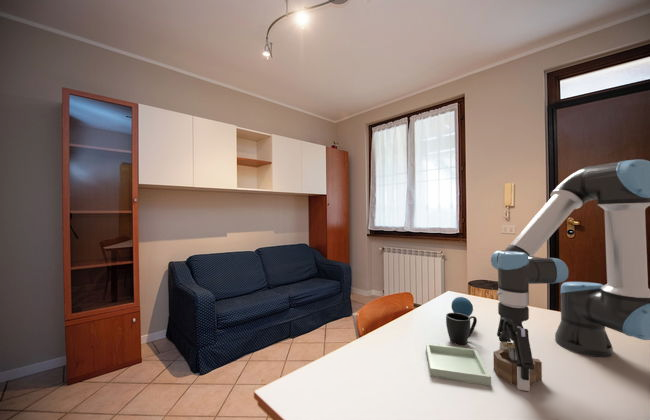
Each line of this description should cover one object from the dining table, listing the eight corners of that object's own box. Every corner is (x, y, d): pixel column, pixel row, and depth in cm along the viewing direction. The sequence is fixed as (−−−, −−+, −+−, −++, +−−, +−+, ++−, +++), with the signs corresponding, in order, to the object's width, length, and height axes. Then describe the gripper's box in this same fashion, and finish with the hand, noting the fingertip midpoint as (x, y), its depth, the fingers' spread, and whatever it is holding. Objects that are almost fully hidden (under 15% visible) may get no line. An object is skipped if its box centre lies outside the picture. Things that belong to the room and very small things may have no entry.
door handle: (519, 372, 83) (519, 341, 83) (526, 382, 78) (526, 348, 78) (501, 370, 84) (500, 339, 84) (506, 379, 80) (506, 346, 80)
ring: (532, 370, 84) (532, 352, 84) (548, 389, 75) (548, 369, 75) (490, 364, 87) (490, 347, 87) (501, 383, 78) (501, 363, 78)
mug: (484, 344, 100) (484, 319, 100) (455, 348, 98) (455, 321, 98) (468, 335, 108) (468, 311, 108) (441, 337, 106) (441, 313, 106)
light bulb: (473, 323, 119) (473, 296, 119) (472, 331, 112) (472, 301, 112) (452, 319, 123) (452, 293, 124) (450, 326, 116) (450, 298, 116)
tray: (476, 356, 92) (476, 349, 92) (491, 385, 77) (491, 376, 77) (425, 350, 96) (425, 343, 96) (430, 376, 81) (430, 368, 81)
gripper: (486, 291, 94) (486, 352, 94) (515, 318, 70) (516, 400, 70) (511, 292, 92) (511, 355, 92) (550, 321, 68) (550, 406, 68)
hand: (513, 375), depth 81 cm, fingers open, 13 cm apart
